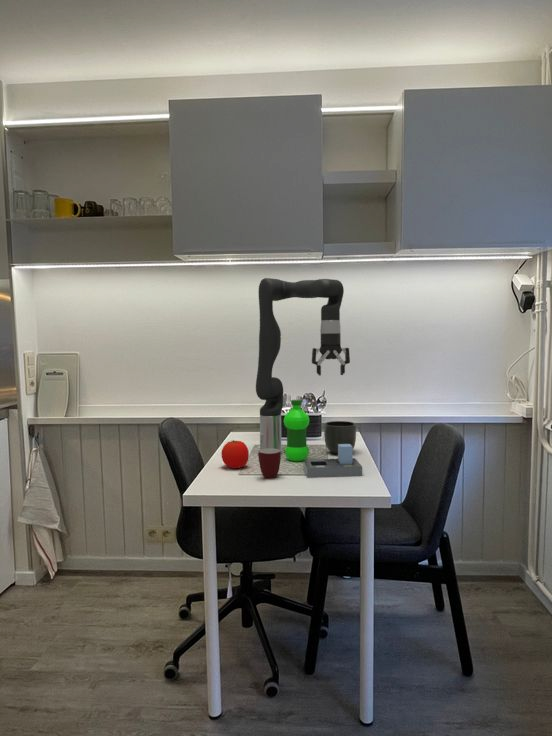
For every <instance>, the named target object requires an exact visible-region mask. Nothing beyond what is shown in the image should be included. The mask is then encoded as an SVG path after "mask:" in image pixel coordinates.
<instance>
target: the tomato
mask: <svg viewBox="0 0 552 736" xmlns="http://www.w3.org/2000/svg"><path fill="white" fill-rule="evenodd" d="M220 454H221V459H222V462H223V463H224V465H225V466H226V467H228V468H231V469H238V468H243V467H244V466H245V465H246V464H247V463H248V462H249V449H248V447H247V444H245V443H244V441H241V440H234V439H233V440H230V441H227V442H226V443H225V444H224V445H223V446H222V449H221V453H220Z"/></svg>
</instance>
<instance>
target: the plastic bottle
mask: <svg viewBox="0 0 552 736" xmlns="http://www.w3.org/2000/svg"><path fill="white" fill-rule="evenodd" d="M302 404H303V401H302V399H292V400H290V405H291V407H292V408H291V409H290V410H289V411H288V412H287V413H286V414H285V415H284V418H283V425H284V427H285V428H286V447H285V449H284V455H285V457H286V458H287V459H288V460H289V461H291V462H303V460H307V458H308V456H309V453H310V449H309V447H308V445H307V428H308V426H309V425H310V417H309V415H308V414H307V413H306V412H305V411H304V410H303V409H302V408H301V406H302Z"/></svg>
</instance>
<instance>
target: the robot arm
mask: <svg viewBox="0 0 552 736" xmlns="http://www.w3.org/2000/svg"><path fill="white" fill-rule="evenodd" d="M344 290H345V289H344V286H343V283H342V281H341V280H338V279H331V278H319V279H304V280H303V279H302V280H298V281H287V280H282V279H279V278H269V277H264V278H263V279H261V280H260V282H259V285H258V293H257V294H258V306H259V309H258V310H259V332H258V333H259V334H258V335H259V336H258V359H257V360H258V362H257V364H258V365H257V373H256V381H255V393H256V396H257V397H258V398H259V399H260V400H262V401H265V403H264V404H263V405H262V406H261V407H260V408H259V425H260V426H259V427H260V428H259V450H261V449H268V448H273V449H279V450H280V451H281V455H282V453H283V452H282V447H283V446H282V444H283V443H282V409H283V408H284V407H283V406H284V386H283V382H282V380H281V379H280V378H278V377H274V376H273V367H274V364H275V361H276V359H277V357H278V356H279V355H278V354H279V352H280V349H281V341H282V337H281V336H282V333H281V332H282V331H281V328H280V326H279V324H278V321H277V320H276V317H275V315H274V308H273V307H274V305H273V303H274V302H279V301H282V300H286V299H292V298H298V299H315V298H316V299H317V298H323V299H327V303H326V304H324V305H322V306H321V308H320V329H319V331H320V347H319V348H315V347H313V348H312V349H311V364H313V365H316V375H318V376H322V363H323V362H324V361H325V360H337V361H338V362H339V363H340V369H339V370H340V375H341V376H343V375H345V373H346V365H347V364H350V362H351V358H350V348H349V347H344V348H343V347H341V343H342V342H341V337H342V336H341V320H340V319H341V315H340V314H341V313H340V309H341V306H342V302H343V297H344V292H345V291H344ZM318 353H320V354H321V356H320V357H319V359H318V360H317V355H318ZM341 353H343V354H344V359H343V358H342V357H341V356H340V354H341ZM272 376H273V377H272Z"/></svg>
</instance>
